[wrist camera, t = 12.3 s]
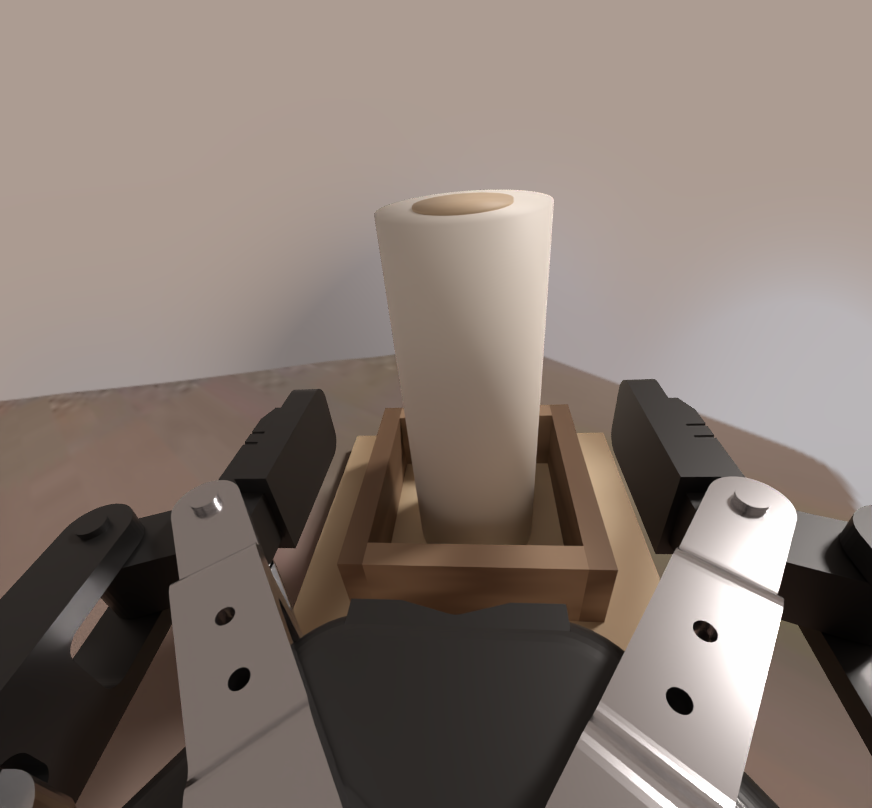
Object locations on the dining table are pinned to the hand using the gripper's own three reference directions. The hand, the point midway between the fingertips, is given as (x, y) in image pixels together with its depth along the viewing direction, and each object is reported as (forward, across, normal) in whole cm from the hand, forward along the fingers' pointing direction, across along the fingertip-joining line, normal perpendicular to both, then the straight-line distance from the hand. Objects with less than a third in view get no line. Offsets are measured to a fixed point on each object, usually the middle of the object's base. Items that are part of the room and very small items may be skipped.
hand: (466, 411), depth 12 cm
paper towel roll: (+5, 0, +11) cm, 12 cm away
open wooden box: (+5, 0, +12) cm, 13 cm away
